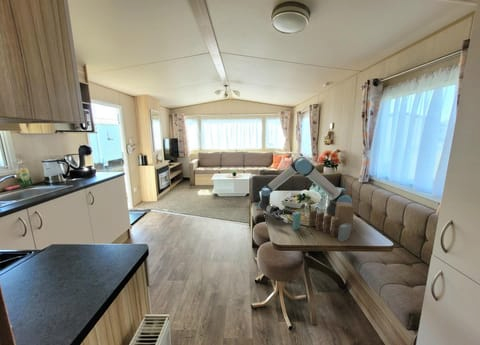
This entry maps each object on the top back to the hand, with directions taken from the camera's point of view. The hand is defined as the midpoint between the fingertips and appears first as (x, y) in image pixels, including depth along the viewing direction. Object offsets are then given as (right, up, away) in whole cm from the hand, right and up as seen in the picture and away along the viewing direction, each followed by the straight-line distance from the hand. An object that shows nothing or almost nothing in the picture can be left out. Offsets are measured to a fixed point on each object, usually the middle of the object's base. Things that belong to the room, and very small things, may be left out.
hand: (293, 218), depth 155 cm
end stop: (+30, -10, -15) cm, 35 cm away
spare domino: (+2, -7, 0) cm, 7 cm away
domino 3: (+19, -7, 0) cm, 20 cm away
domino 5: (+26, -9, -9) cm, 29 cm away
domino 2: (+15, -6, +5) cm, 17 cm away
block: (+35, -8, -2) cm, 36 cm away
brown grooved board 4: (+22, -8, -5) cm, 24 cm away
